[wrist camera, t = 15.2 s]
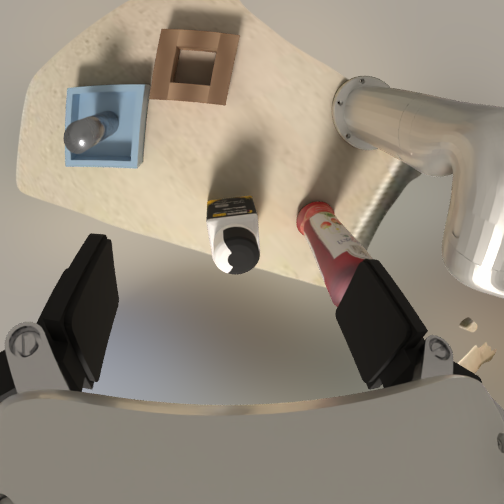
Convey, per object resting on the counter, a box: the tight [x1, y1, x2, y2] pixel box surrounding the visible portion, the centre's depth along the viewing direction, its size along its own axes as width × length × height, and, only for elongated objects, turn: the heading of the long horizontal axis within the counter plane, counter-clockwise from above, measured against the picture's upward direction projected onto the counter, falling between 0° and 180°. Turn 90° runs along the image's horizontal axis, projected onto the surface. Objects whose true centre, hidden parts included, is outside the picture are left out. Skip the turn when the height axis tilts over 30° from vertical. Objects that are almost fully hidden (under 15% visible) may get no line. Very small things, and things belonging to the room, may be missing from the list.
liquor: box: [296, 202, 373, 307], centre depth 36 cm, size 7×7×28 cm
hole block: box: [149, 29, 240, 105], centre depth 30 cm, size 10×10×4 cm
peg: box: [64, 111, 119, 154], centre depth 29 cm, size 4×4×10 cm
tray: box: [65, 84, 151, 168], centre depth 32 cm, size 12×12×4 cm
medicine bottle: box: [206, 196, 260, 274], centre depth 41 cm, size 7×7×12 cm
